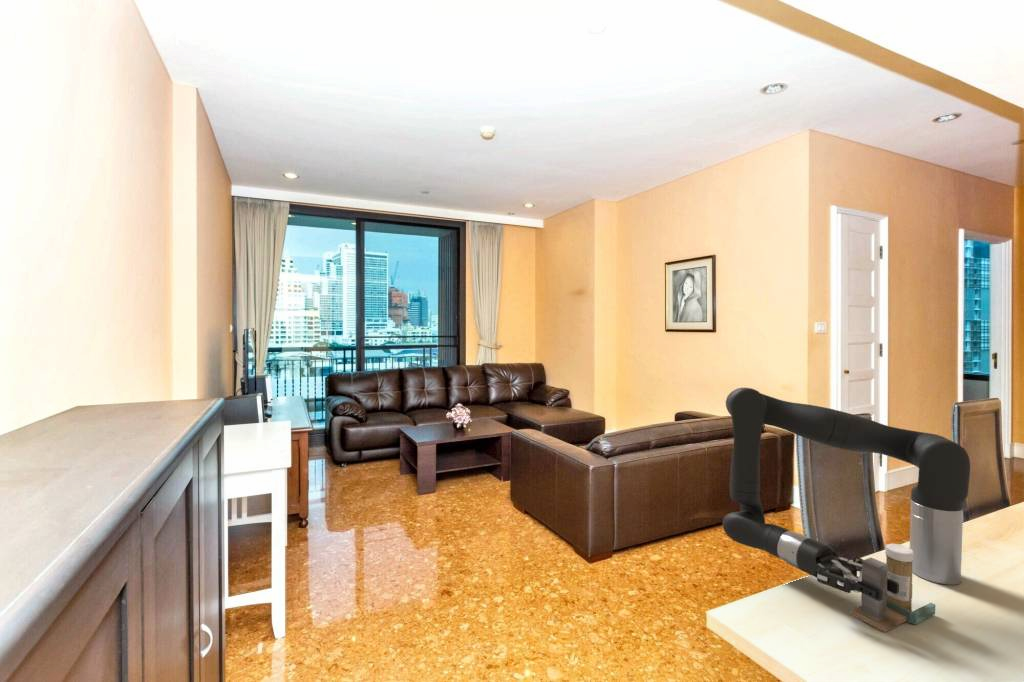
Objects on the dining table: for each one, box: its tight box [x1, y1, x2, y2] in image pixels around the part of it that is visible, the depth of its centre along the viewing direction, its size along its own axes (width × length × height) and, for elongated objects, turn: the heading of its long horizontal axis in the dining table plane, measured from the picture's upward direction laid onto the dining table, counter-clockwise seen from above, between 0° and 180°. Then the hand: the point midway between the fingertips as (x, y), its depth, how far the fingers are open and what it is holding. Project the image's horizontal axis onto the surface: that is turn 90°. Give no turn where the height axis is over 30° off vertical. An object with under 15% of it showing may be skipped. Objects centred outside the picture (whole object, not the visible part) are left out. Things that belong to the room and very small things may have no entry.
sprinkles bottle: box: [884, 543, 914, 611], centre depth 99 cm, size 5×5×13 cm
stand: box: [851, 557, 936, 633], centre depth 98 cm, size 16×9×12 cm, turn 115°
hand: (889, 592), depth 93 cm, fingers open, 5 cm apart
